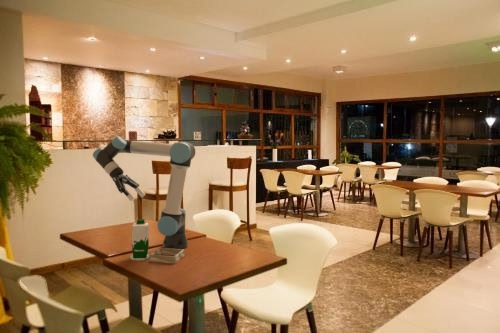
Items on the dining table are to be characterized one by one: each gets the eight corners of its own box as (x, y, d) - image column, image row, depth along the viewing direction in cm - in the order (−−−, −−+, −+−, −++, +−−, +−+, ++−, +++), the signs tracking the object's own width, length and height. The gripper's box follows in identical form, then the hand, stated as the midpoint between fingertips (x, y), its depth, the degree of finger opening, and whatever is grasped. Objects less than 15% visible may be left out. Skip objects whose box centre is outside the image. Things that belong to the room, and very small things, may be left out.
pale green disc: (135, 253, 219) (135, 252, 219) (153, 255, 217) (153, 254, 217) (126, 259, 208) (126, 258, 208) (145, 261, 206) (145, 260, 206)
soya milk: (149, 253, 218) (149, 218, 216) (148, 258, 209) (148, 222, 208) (132, 254, 216) (133, 219, 215) (131, 259, 207) (131, 222, 206)
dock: (160, 253, 220) (160, 247, 220) (184, 255, 218) (184, 249, 217) (149, 261, 206) (149, 254, 206) (174, 263, 203) (175, 256, 203)
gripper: (121, 173, 235) (143, 199, 233) (97, 176, 210) (123, 205, 209) (129, 165, 234) (152, 190, 232) (106, 167, 209) (132, 196, 207)
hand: (138, 197), depth 220 cm, fingers open, 13 cm apart
